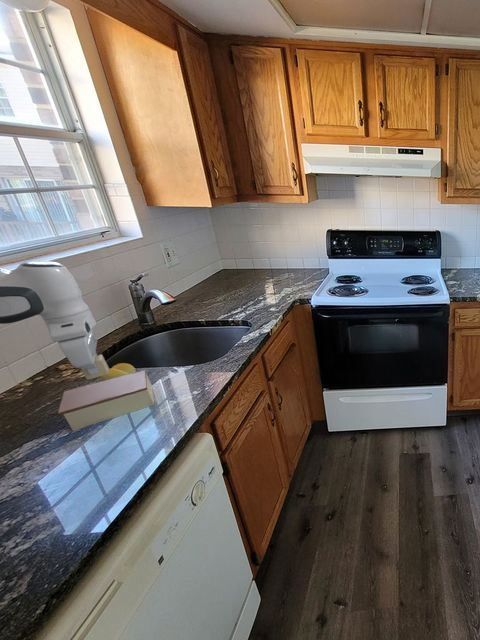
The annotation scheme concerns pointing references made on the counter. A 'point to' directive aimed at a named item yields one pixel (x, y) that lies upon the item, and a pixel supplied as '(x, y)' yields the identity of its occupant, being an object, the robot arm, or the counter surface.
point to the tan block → (101, 366)
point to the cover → (102, 391)
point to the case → (110, 408)
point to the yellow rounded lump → (118, 371)
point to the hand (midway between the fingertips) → (95, 369)
